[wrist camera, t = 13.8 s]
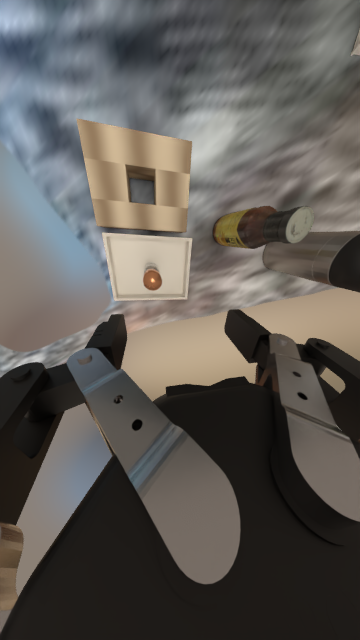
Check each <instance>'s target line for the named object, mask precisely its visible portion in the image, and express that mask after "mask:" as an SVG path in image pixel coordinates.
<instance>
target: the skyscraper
mask: <svg viewBox="0 0 360 640" xmlns="http://www.w3.org/2000/svg"><path fill="white" fill-rule="evenodd" d="M353 54H354V55H359V56H360V30H359V33H358V36H357V39H356V42H355V45H354V48H353V51H352V52H351V55H350V56H352V55H353Z"/></svg>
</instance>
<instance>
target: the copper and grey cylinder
mask: <svg viewBox="0 0 360 640" xmlns="http://www.w3.org/2000/svg"><path fill="white" fill-rule="evenodd" d="M143 284H144V286H145V287H146V288H147V289H148V290H152V291H154V290H157V289H159V288H160V287H161V285H162V279H161V276H160V273H159V270H158V267H157V265H156V264H155V263H153V262H148V263H147V264H146V265H145V268H144V277H143Z"/></svg>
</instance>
